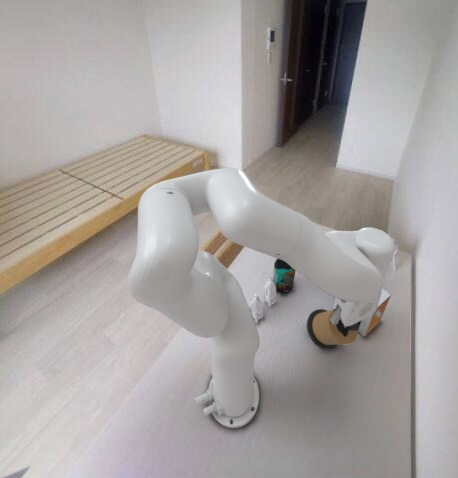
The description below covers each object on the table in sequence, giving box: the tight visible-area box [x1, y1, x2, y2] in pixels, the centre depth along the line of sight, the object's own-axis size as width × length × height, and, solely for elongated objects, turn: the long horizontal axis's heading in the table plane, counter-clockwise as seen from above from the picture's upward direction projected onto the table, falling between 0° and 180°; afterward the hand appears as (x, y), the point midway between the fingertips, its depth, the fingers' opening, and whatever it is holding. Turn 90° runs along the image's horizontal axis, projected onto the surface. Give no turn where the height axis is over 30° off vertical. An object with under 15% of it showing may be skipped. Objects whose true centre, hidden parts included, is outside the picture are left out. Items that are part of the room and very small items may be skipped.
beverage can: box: [272, 258, 296, 295], centre depth 91 cm, size 7×7×12 cm
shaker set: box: [250, 278, 278, 324], centre depth 85 cm, size 12×4×11 cm, turn 134°
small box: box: [358, 287, 392, 338], centre depth 79 cm, size 8×6×13 cm
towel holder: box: [306, 308, 359, 351], centre depth 72 cm, size 10×16×10 cm
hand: (346, 327), depth 68 cm, fingers closed on towel holder, 2 cm apart
